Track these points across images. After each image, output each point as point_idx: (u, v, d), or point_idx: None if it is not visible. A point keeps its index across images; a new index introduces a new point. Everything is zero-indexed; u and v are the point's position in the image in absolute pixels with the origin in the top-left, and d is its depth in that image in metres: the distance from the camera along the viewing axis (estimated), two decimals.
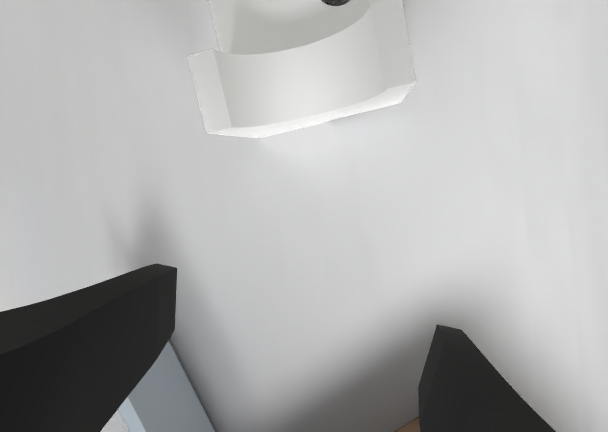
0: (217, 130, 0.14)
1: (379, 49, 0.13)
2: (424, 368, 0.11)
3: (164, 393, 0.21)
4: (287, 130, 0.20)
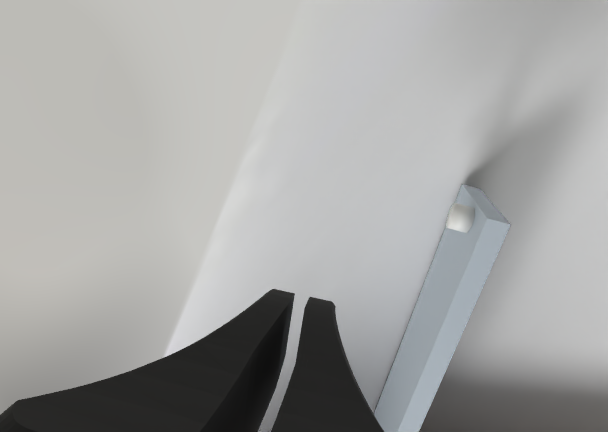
0: None
1: None
2: None
3: None
4: None
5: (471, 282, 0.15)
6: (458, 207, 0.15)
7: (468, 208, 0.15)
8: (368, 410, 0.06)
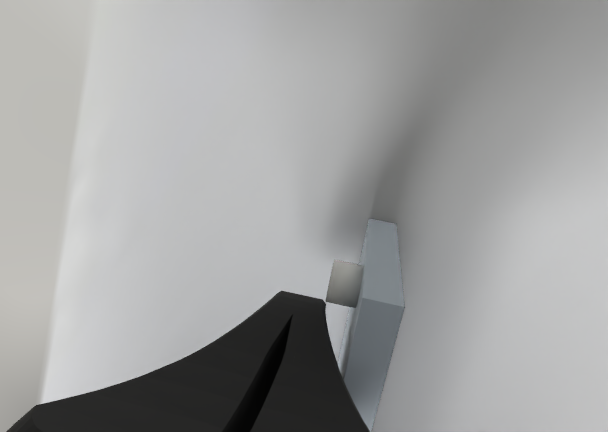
0: None
1: None
2: None
3: None
4: None
5: (356, 400, 0.09)
6: (335, 269, 0.09)
7: (353, 269, 0.09)
8: (352, 406, 0.06)
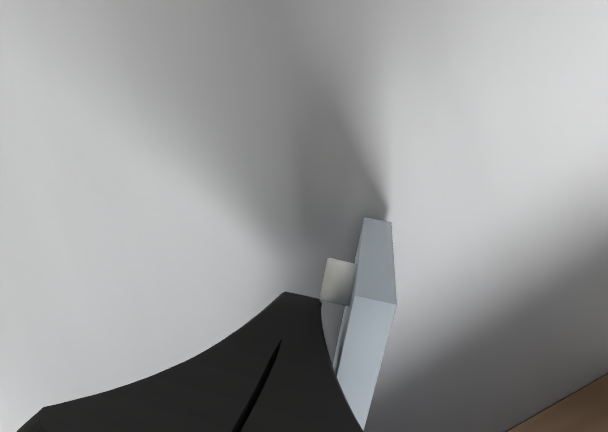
0: None
1: None
2: None
3: None
4: None
5: (349, 397, 0.09)
6: (329, 267, 0.09)
7: (347, 267, 0.09)
8: (345, 404, 0.06)
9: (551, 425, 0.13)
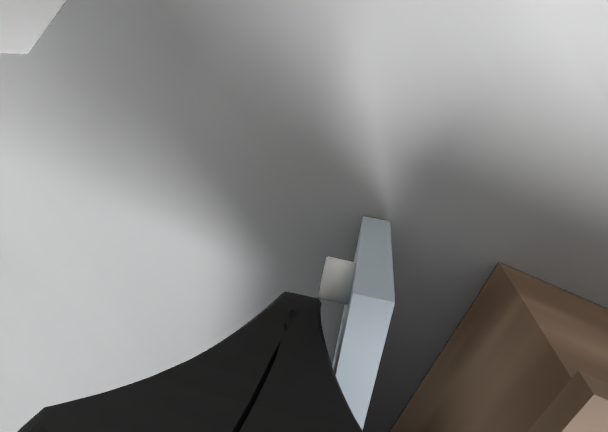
0: None
1: None
2: None
3: None
4: (39, 12, 0.12)
5: (348, 396, 0.09)
6: (328, 265, 0.09)
7: (345, 266, 0.09)
8: (344, 404, 0.06)
9: (452, 351, 0.13)
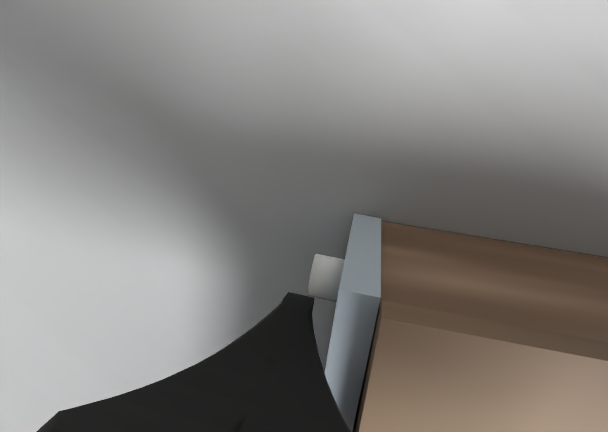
0: None
1: None
2: None
3: None
4: None
5: (338, 392, 0.09)
6: (316, 263, 0.09)
7: (334, 263, 0.09)
8: (331, 401, 0.07)
9: None
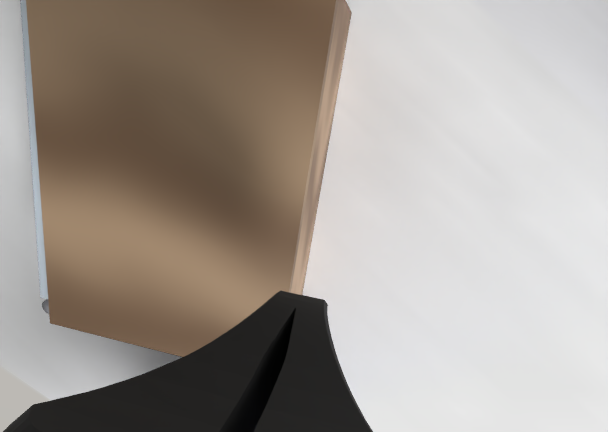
0: None
1: None
2: None
3: None
4: None
5: None
6: None
7: None
8: (355, 407, 0.06)
9: None
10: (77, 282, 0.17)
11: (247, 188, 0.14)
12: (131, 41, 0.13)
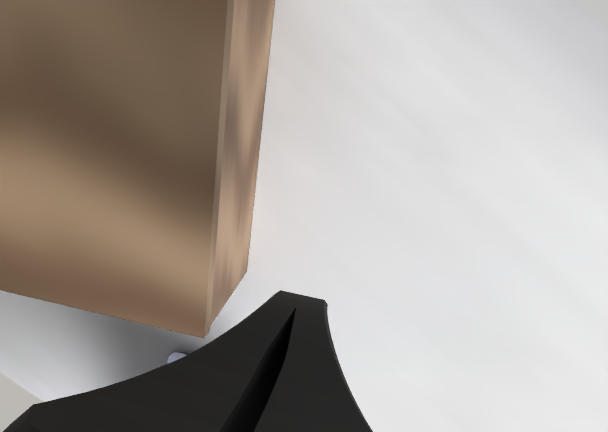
0: None
1: None
2: None
3: None
4: None
5: None
6: None
7: None
8: (355, 407, 0.06)
9: None
10: (7, 242, 0.17)
11: (162, 138, 0.14)
12: None
